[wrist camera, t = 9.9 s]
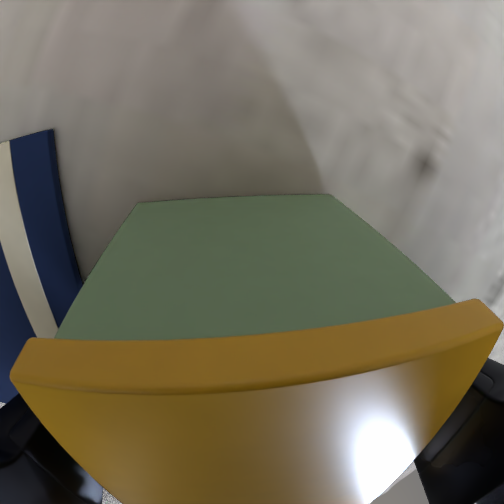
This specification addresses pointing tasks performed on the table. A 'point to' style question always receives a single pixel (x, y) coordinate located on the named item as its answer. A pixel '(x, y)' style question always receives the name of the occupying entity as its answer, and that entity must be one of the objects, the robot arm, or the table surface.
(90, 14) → the table surface
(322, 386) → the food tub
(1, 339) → the tea towel
